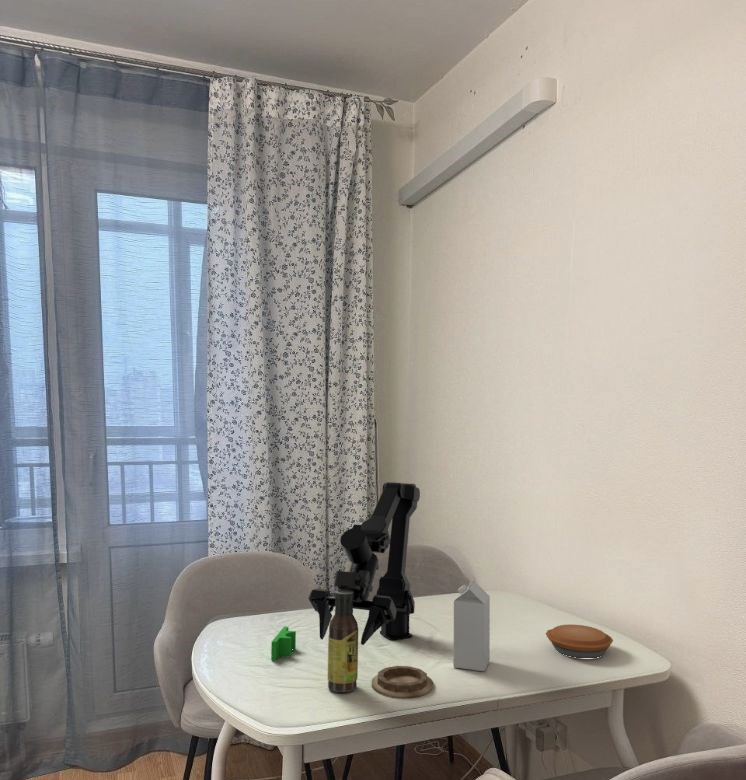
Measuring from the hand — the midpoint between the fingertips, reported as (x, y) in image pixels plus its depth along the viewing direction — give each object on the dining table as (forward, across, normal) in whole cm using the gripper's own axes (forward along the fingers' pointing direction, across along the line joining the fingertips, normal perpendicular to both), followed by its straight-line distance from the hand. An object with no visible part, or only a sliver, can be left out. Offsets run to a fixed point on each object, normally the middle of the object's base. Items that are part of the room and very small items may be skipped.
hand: (341, 641), depth 135 cm
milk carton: (-10, +22, +24) cm, 34 cm away
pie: (-23, +45, +37) cm, 63 cm away
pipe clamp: (-3, -21, +18) cm, 28 cm away
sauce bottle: (+6, 0, +8) cm, 10 cm away
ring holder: (+2, +11, +12) cm, 16 cm away
